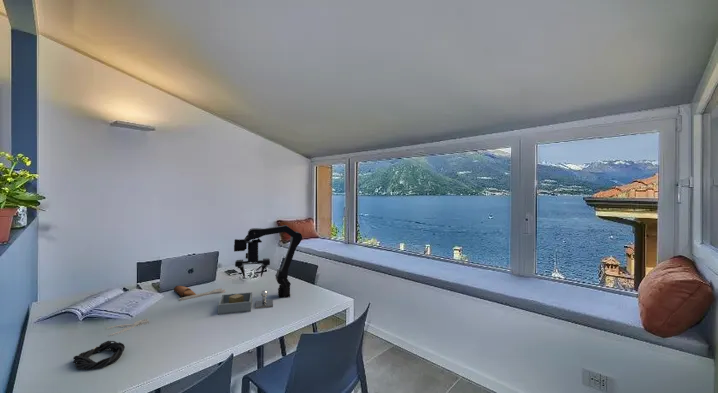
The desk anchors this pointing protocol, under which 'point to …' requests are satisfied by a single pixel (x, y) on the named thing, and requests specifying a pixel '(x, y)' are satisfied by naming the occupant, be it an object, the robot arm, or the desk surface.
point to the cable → (87, 363)
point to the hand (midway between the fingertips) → (252, 277)
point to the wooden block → (236, 298)
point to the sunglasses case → (184, 291)
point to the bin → (235, 304)
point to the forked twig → (130, 325)
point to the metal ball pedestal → (264, 301)
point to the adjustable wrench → (203, 294)
